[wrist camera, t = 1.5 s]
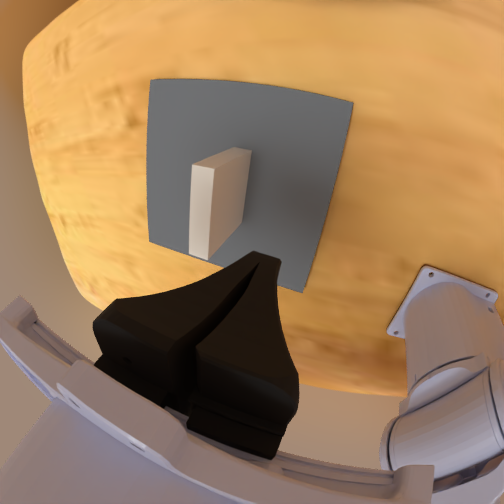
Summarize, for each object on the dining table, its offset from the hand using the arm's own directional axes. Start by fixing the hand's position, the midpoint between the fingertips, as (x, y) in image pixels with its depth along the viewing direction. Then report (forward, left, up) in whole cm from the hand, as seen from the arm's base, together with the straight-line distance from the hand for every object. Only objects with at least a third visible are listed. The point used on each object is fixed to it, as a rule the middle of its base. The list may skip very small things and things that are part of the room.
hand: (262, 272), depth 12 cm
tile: (+5, 0, -9) cm, 11 cm away
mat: (+6, 0, -10) cm, 12 cm away
